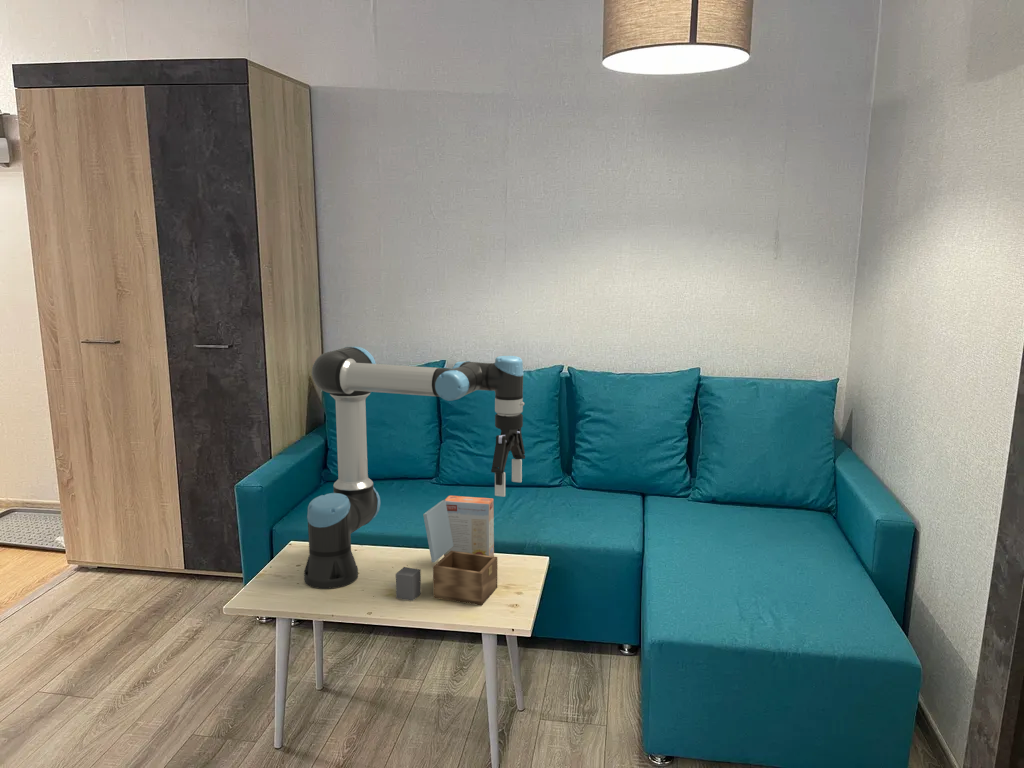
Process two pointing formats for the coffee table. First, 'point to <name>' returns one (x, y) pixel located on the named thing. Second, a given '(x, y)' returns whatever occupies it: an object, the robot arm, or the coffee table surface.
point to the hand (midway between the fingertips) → (508, 488)
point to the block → (408, 583)
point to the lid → (438, 530)
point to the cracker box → (471, 524)
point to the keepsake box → (465, 577)
